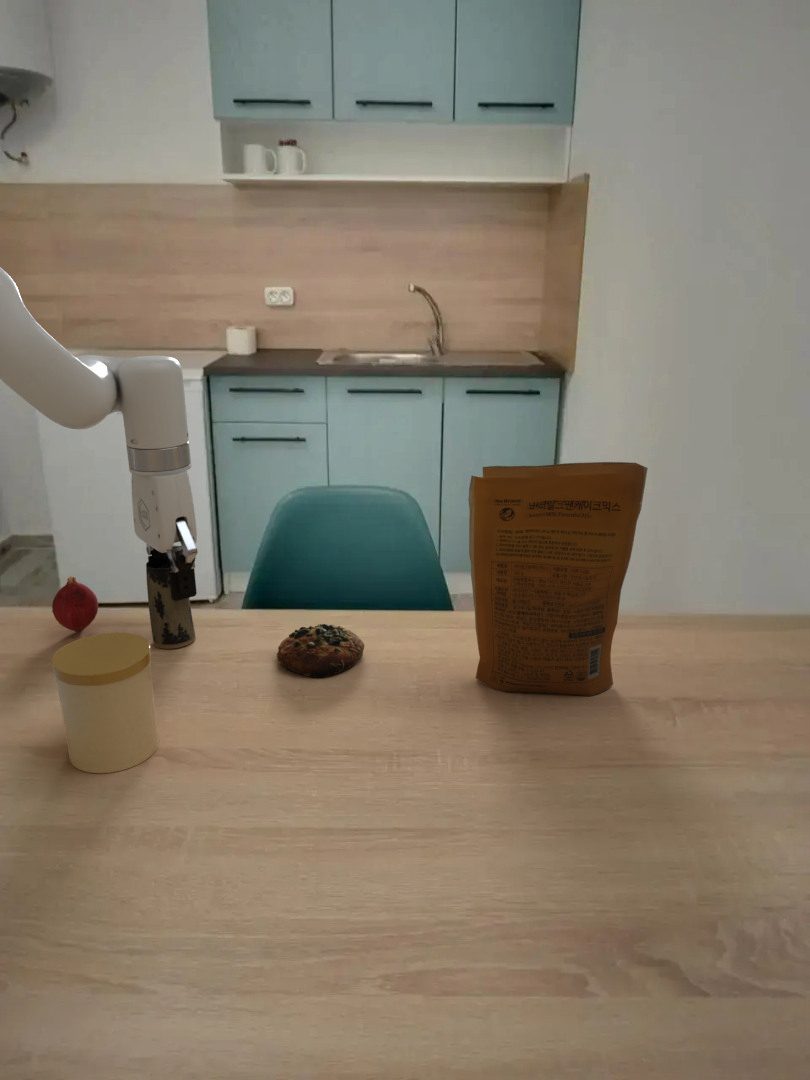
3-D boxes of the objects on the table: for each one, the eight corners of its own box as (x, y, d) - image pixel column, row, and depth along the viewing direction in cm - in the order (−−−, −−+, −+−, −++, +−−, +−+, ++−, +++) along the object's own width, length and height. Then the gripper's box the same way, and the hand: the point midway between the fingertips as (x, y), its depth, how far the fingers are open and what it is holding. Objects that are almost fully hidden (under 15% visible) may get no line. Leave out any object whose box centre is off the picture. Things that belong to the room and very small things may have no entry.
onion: (106, 633, 113) (99, 579, 110) (62, 644, 110) (53, 589, 107) (94, 619, 118) (87, 566, 115) (52, 629, 115) (43, 575, 112)
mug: (184, 650, 108) (175, 563, 104) (145, 648, 109) (134, 561, 105) (208, 625, 115) (200, 544, 112) (171, 623, 116) (162, 542, 113)
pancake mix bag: (630, 706, 95) (654, 468, 86) (463, 697, 97) (468, 464, 87) (622, 677, 101) (643, 453, 92) (465, 670, 103) (470, 449, 94)
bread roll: (297, 685, 99) (294, 645, 98) (264, 659, 108) (262, 623, 107) (379, 666, 104) (377, 628, 103) (341, 644, 114) (339, 608, 113)
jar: (55, 743, 88) (39, 648, 84) (141, 714, 93) (130, 624, 90) (84, 786, 81) (68, 685, 77) (175, 752, 86) (164, 656, 83)
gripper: (105, 449, 108) (122, 577, 114) (157, 476, 95) (172, 618, 101) (161, 441, 112) (174, 565, 118) (217, 466, 100) (229, 603, 105)
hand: (173, 588), depth 110 cm, fingers closed on mug, 6 cm apart
